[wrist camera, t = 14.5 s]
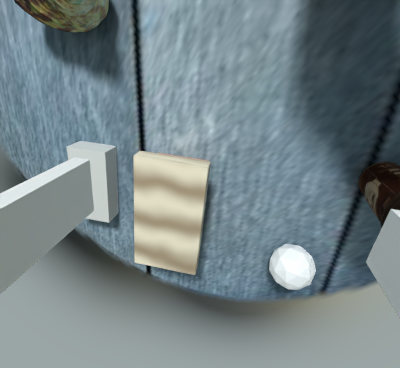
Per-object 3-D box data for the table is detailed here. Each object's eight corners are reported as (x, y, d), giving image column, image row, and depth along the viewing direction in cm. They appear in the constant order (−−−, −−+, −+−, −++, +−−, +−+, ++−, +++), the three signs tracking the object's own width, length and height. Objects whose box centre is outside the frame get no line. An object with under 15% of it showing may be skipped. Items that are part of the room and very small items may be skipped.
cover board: (140, 150, 39) (133, 155, 37) (210, 161, 38) (208, 167, 36) (140, 253, 48) (134, 262, 45) (197, 265, 46) (195, 275, 44)
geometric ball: (287, 252, 52) (280, 293, 49) (265, 235, 48) (256, 278, 45) (325, 255, 47) (320, 300, 43) (304, 236, 43) (297, 284, 39)
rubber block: (80, 140, 47) (66, 146, 44) (116, 146, 46) (105, 152, 43) (87, 206, 53) (75, 216, 49) (118, 212, 52) (109, 222, 49)
